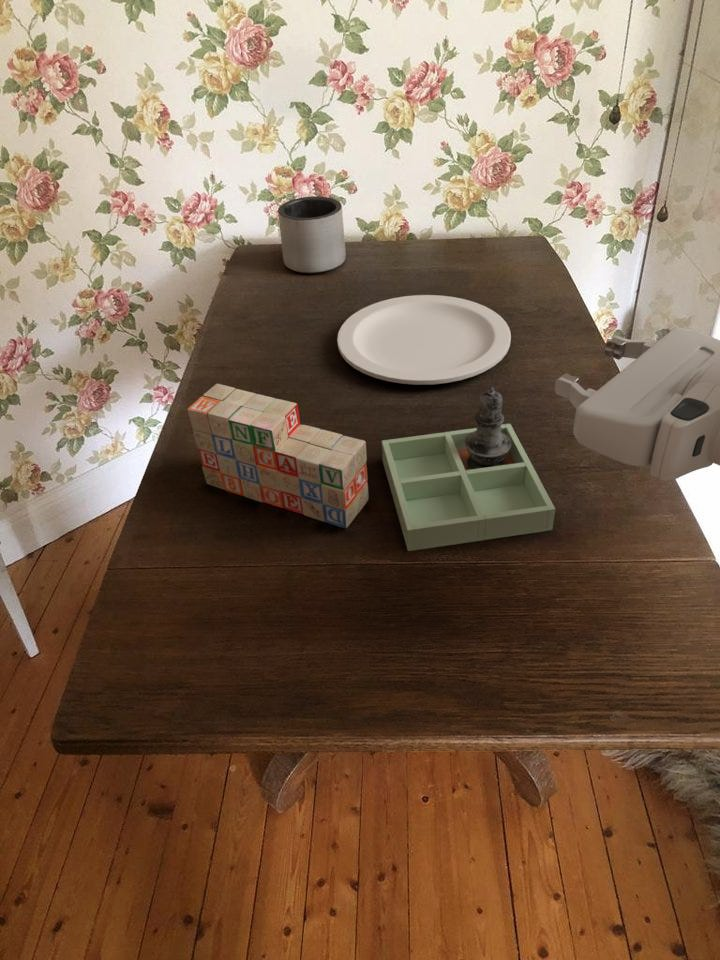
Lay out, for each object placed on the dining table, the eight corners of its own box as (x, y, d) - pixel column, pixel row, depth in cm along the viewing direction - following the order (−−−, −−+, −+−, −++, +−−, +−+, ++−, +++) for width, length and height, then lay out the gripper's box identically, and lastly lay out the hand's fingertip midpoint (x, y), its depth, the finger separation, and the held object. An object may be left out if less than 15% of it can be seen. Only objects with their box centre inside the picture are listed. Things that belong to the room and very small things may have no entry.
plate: (305, 344, 126) (303, 331, 125) (430, 292, 138) (430, 280, 137) (413, 415, 108) (413, 402, 107) (546, 348, 121) (548, 335, 119)
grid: (508, 443, 102) (510, 423, 100) (552, 530, 89) (555, 508, 87) (382, 460, 101) (381, 440, 99) (407, 551, 88) (407, 530, 85)
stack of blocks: (370, 499, 95) (365, 419, 87) (346, 531, 91) (339, 450, 83) (232, 457, 103) (216, 381, 95) (204, 484, 99) (185, 406, 91)
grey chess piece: (505, 449, 100) (512, 372, 93) (512, 477, 96) (520, 398, 88) (461, 451, 100) (464, 374, 93) (466, 479, 96) (470, 401, 88)
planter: (300, 281, 145) (294, 224, 138) (274, 259, 154) (266, 205, 146) (357, 265, 149) (354, 209, 142) (328, 244, 158) (324, 191, 151)
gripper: (772, 337, 73) (640, 297, 81) (670, 435, 62) (530, 378, 70) (754, 391, 77) (631, 348, 85) (655, 492, 67) (525, 432, 74)
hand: (584, 362), depth 78 cm, fingers open, 8 cm apart
